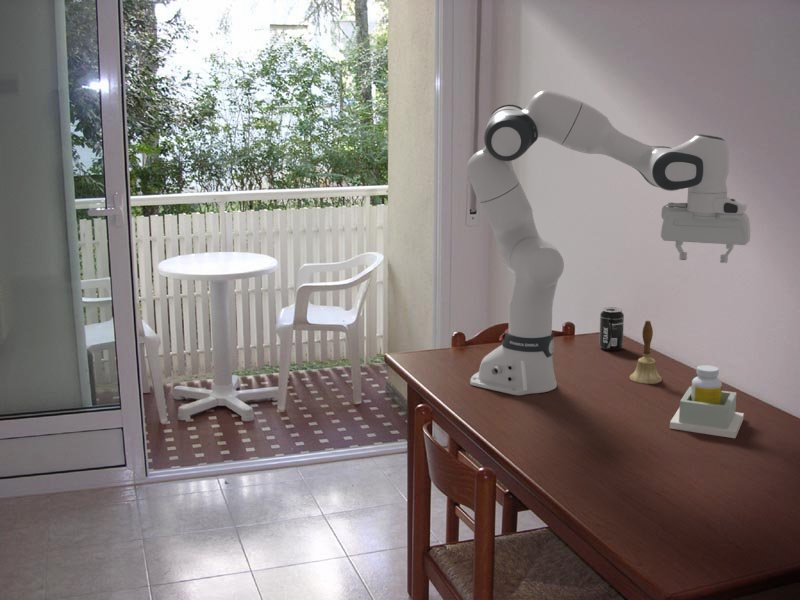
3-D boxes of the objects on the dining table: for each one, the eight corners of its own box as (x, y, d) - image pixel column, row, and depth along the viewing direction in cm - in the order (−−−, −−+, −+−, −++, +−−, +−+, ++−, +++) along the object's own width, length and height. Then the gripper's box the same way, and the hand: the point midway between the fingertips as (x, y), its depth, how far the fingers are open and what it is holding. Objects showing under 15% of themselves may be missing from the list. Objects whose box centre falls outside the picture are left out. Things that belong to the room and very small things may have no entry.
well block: (669, 428, 198) (671, 400, 197) (681, 410, 209) (682, 384, 208) (735, 438, 192) (737, 410, 190) (743, 419, 203) (745, 392, 202)
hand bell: (660, 385, 228) (663, 325, 224) (627, 382, 231) (630, 323, 227) (663, 376, 235) (666, 318, 232) (631, 373, 238) (634, 316, 235)
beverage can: (597, 345, 266) (599, 306, 263) (620, 345, 265) (622, 306, 262) (600, 351, 259) (601, 311, 256) (624, 351, 258) (625, 312, 256)
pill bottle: (722, 422, 197) (725, 373, 194) (692, 421, 198) (695, 372, 196) (717, 412, 203) (720, 364, 201) (688, 411, 204) (690, 363, 202)
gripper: (659, 203, 211) (656, 260, 214) (750, 207, 202) (745, 266, 205) (664, 200, 217) (662, 256, 220) (753, 204, 207) (749, 261, 210)
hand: (703, 261), depth 212 cm, fingers open, 8 cm apart
